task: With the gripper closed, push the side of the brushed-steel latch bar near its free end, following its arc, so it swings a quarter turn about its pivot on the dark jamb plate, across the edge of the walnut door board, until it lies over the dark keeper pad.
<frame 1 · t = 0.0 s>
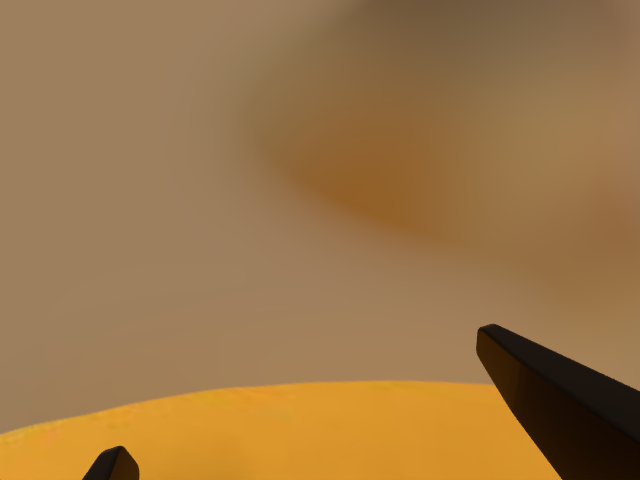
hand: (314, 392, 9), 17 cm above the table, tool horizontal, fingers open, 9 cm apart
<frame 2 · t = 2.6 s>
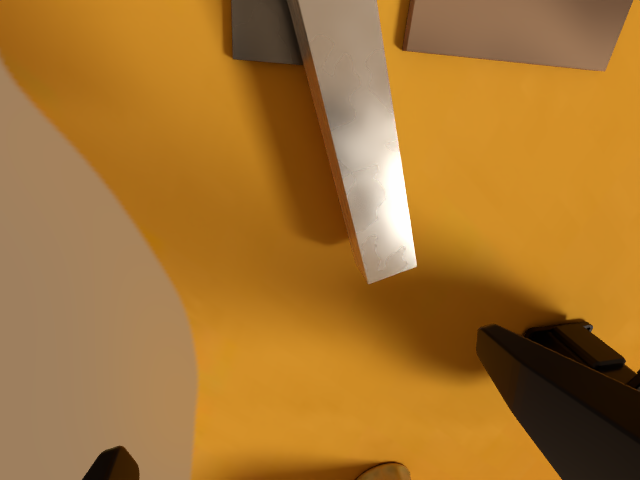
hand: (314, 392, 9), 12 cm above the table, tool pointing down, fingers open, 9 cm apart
latch bar: (355, 122, 16), point 3 cm above the table, hinge at 0.0°
vase: (378, 479, 35), on the table
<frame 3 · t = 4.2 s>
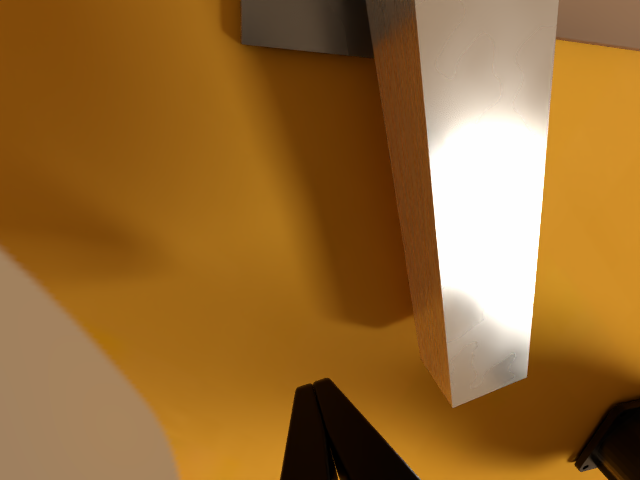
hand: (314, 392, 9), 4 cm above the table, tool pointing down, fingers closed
latch bar: (463, 161, 9), point 3 cm above the table, hinge at 0.0°
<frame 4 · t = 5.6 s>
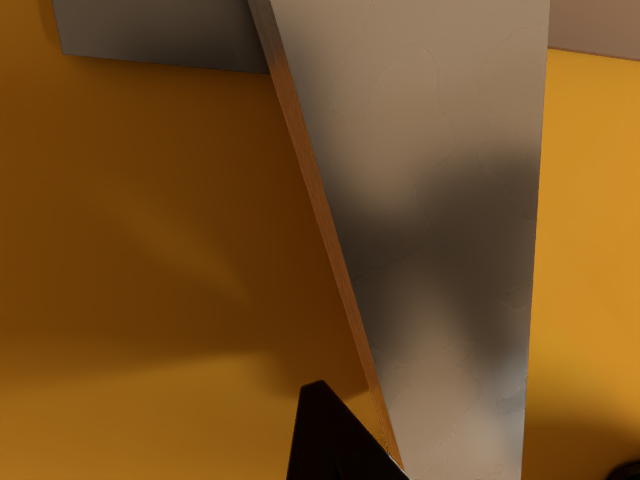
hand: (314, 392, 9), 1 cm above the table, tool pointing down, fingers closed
latch bar: (414, 229, 6), point 2 cm above the table, hinge at 1.5°, touching gripper
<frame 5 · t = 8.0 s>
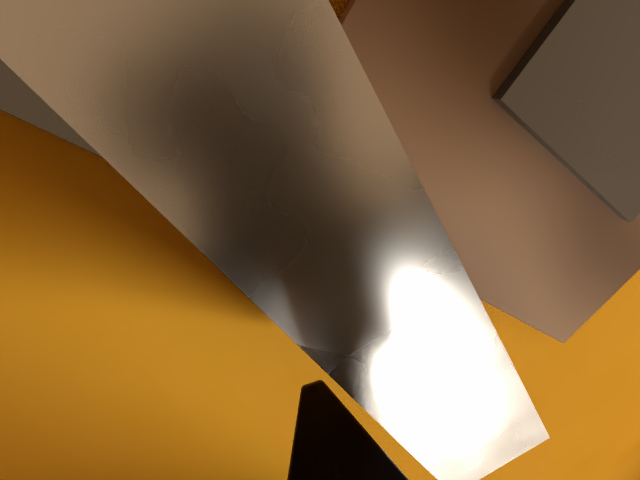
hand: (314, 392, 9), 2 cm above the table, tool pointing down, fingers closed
keeper: (624, 72, 9), resting on door board
latch bar: (323, 221, 6), point 2 cm above the table, hinge at 46.4°, touching gripper
door board: (553, 134, 9), on the table
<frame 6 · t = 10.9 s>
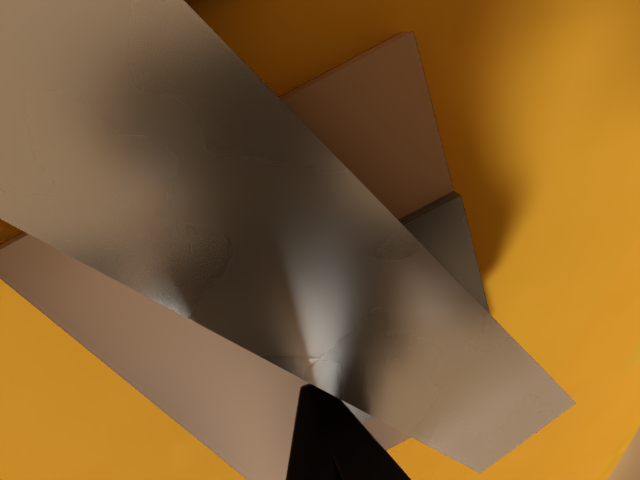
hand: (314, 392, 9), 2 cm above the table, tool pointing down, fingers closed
keeper: (388, 311, 10), resting on door board
latch bar: (266, 221, 5), point 3 cm above the table, hinge at 89.6°, touching gripper
door board: (320, 332, 10), on the table
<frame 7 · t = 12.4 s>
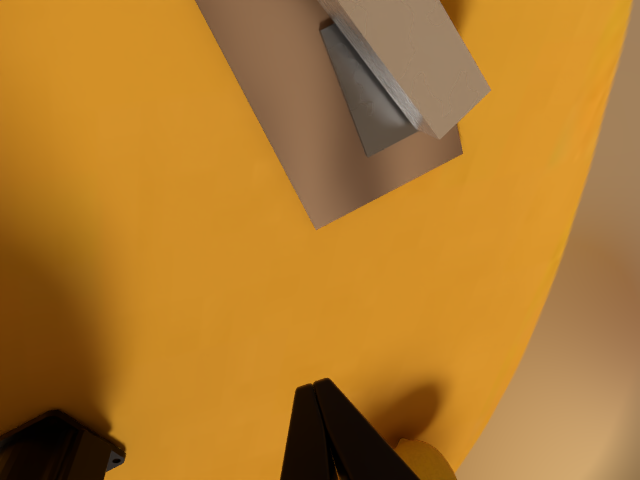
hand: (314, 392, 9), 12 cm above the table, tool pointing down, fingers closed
keeper: (388, 73, 17), resting on door board
door board: (347, 82, 17), on the table
lemon: (400, 437, 33), on the table
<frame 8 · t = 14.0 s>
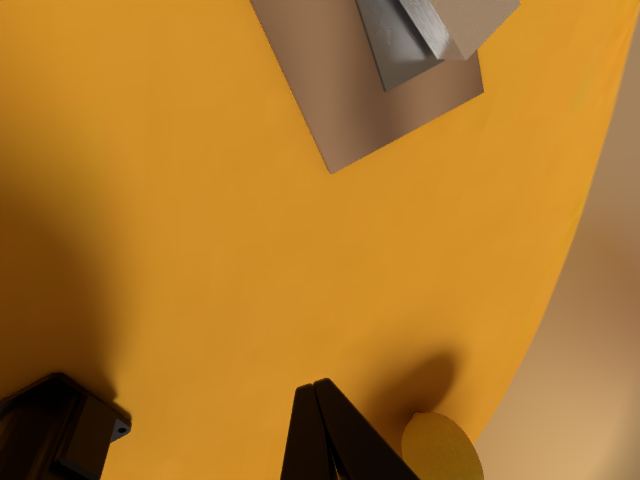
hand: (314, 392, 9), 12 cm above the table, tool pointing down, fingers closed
door board: (364, 8, 16), on the table
lemon: (414, 411, 32), on the table
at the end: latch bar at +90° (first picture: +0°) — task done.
